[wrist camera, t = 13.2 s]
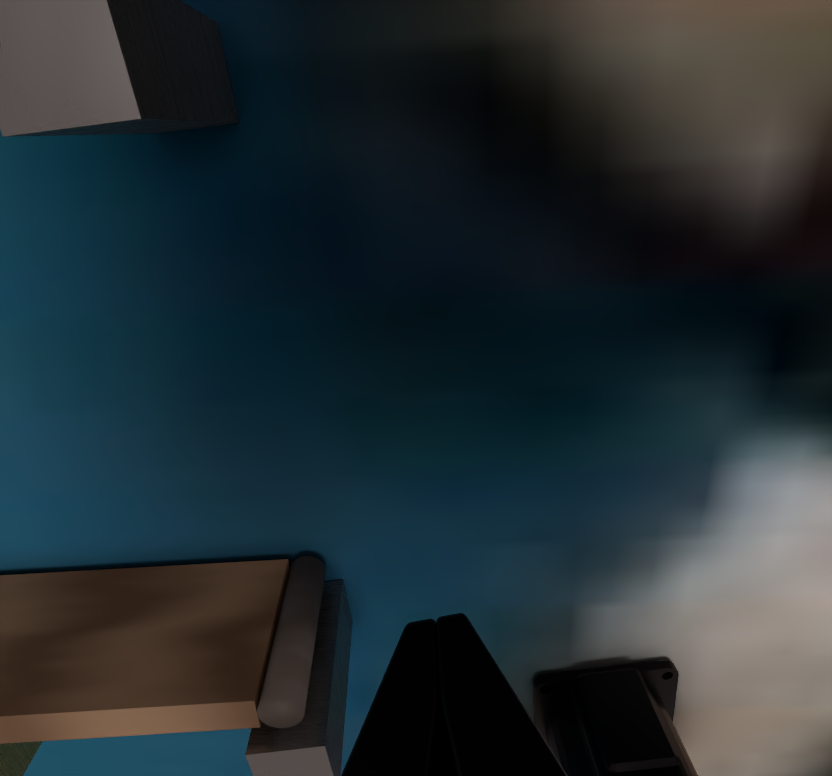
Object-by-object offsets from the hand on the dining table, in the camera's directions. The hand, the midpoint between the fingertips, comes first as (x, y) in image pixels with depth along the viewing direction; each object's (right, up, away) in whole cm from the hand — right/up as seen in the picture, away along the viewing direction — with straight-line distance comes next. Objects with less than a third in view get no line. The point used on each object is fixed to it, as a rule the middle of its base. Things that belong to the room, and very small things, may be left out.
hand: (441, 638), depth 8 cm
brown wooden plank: (-12, -4, +14) cm, 19 cm away
